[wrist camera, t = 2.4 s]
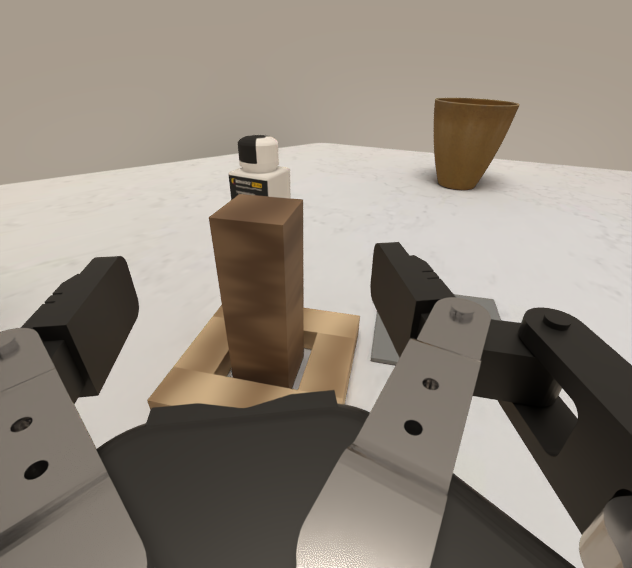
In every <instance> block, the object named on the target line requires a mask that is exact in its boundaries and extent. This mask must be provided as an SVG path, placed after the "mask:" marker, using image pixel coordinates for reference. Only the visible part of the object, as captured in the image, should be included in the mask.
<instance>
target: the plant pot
mask: <svg viewBox="0 0 632 568" xmlns="http://www.w3.org/2000/svg"><path fill="white" fill-rule="evenodd" d="M518 107H519V104H518V103H514V102H507V101H499V100H488V99H472V98H436V99H435V108H434V155H435V165H436V173H437V179H438V183H439V184H440V185H441V186H443V187H447V188H451V189H457V190H469V189H473V188H474V187H475V186H476V184H477V183H478V181H479V180H480V179H481V177H482V176H483V174H484V173H485V171H486V169H487V168H488V166H489V165H490V163H491V161H492V160H493V158H494V156H495V154H496V153H497V151H498V149H499V147H500V145H501V144H502V142H503V140H504V138H505V136H506V133H507V132H508V129H509V127H510V125H511V123H512V121H513V118H514V116H515V114H516V112H517V109H518Z"/></svg>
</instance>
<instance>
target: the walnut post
mask: <svg viewBox="0 0 632 568" xmlns="http://www.w3.org/2000/svg"><path fill="white" fill-rule="evenodd" d="M209 222H210V229H211V235H212V242H213V248H214V255H215V262H216V268H217V275H218V282H219V288H220V295H221V301H222V308H223V315H224V321H225V328H226V334H227V341H228V348H229V354H230V361H231V368H232V374H233V378H236V379H241V380H247V381H252V382H257V383H263V384H268V385H273V386H279V387H284V388H289V389H292V387H293V384H294V381H295V379H296V376H297V373H298V370H299V368H300V365H301V362H302V359H303V357H304V309H303V200H301V199H290V198H279V197H268V196H256V195H245V194H239V195H238V196H236V197H235V198H234V199H232V200H231V201H230V202H228V203H227V204H226V205H225V206H223V207H222V208H221V209H219V210H218V211H217V212H215V213H214V214H213V215H211V216H210V217H209Z"/></svg>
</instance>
